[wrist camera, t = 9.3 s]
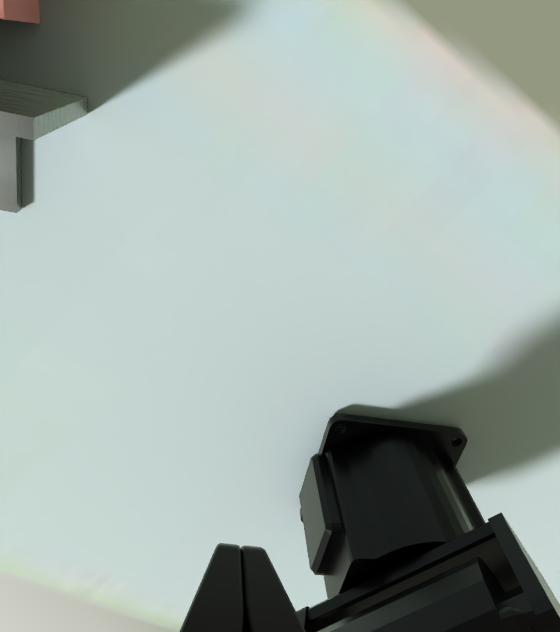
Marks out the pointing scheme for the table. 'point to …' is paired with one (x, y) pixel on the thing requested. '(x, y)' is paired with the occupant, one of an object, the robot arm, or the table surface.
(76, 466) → the table surface
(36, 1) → the block
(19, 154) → the shelf
